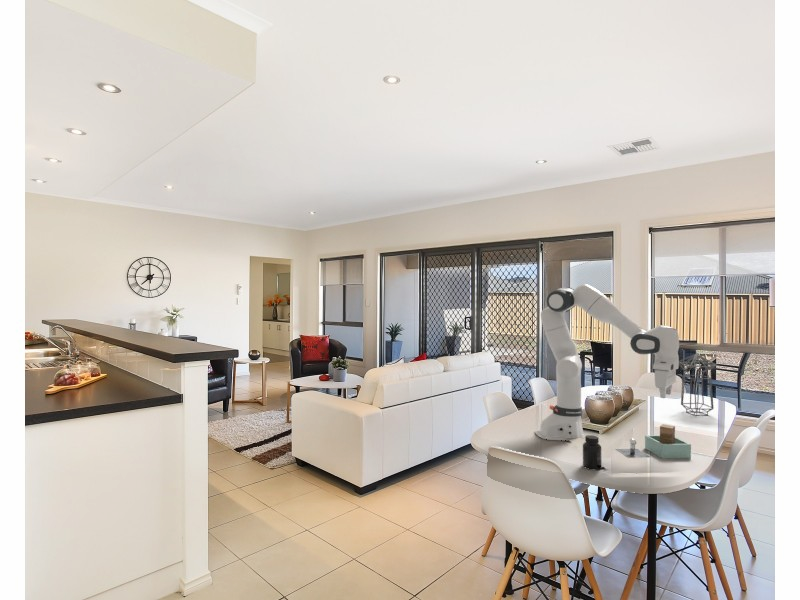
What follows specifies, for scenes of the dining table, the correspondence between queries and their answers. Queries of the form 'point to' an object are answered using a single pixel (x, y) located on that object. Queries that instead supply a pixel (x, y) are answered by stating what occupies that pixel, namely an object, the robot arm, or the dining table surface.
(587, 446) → the supplement bottle
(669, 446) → the sage bin
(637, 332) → the robot arm
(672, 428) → the walnut strut
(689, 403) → the geometric lantern
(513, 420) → the dining table surface
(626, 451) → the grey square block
